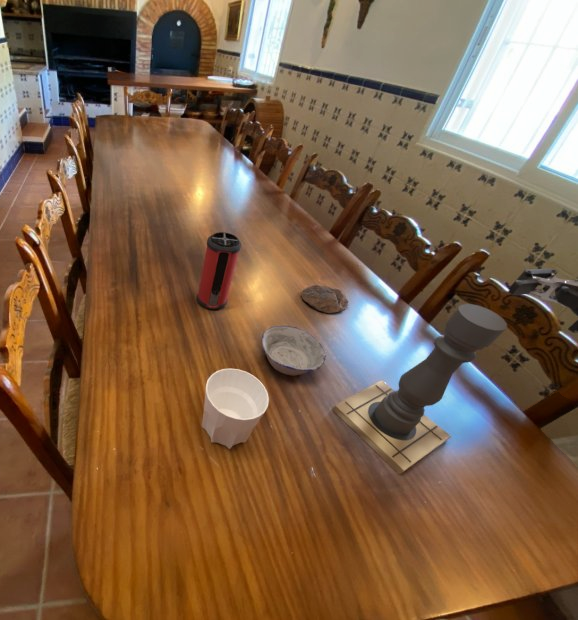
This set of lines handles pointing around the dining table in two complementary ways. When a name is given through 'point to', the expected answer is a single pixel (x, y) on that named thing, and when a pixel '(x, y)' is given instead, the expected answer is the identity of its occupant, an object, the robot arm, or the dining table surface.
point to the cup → (233, 406)
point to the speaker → (218, 270)
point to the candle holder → (439, 367)
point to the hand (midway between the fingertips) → (543, 306)
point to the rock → (325, 298)
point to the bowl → (292, 350)
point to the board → (387, 444)
